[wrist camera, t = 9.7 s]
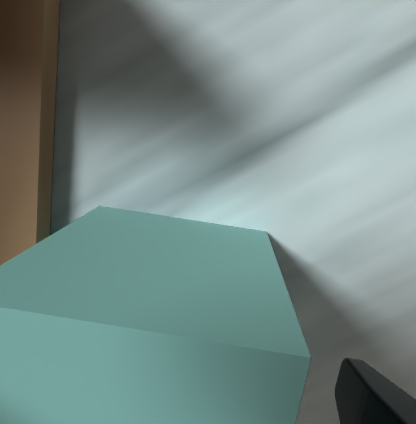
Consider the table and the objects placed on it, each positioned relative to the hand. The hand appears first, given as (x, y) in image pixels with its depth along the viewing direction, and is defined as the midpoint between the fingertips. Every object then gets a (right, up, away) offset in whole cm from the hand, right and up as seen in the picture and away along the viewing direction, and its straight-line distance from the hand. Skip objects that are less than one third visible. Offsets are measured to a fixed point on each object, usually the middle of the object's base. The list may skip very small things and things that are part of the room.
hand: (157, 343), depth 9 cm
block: (0, +1, +3) cm, 3 cm away
